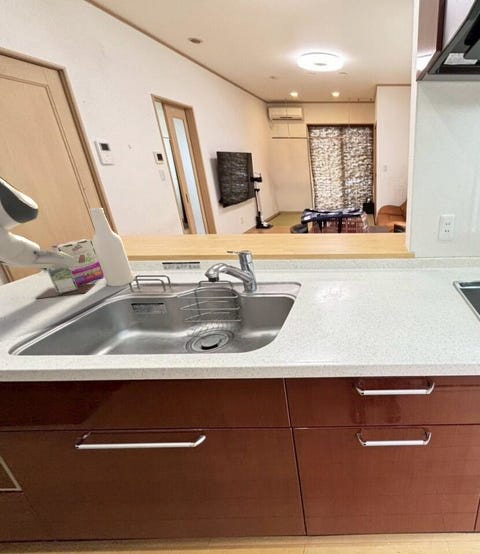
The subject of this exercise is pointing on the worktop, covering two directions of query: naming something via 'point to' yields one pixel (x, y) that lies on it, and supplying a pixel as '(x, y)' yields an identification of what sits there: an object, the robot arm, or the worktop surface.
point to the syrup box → (62, 280)
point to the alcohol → (110, 251)
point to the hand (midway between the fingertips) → (60, 269)
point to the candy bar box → (82, 260)
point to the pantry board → (52, 292)
